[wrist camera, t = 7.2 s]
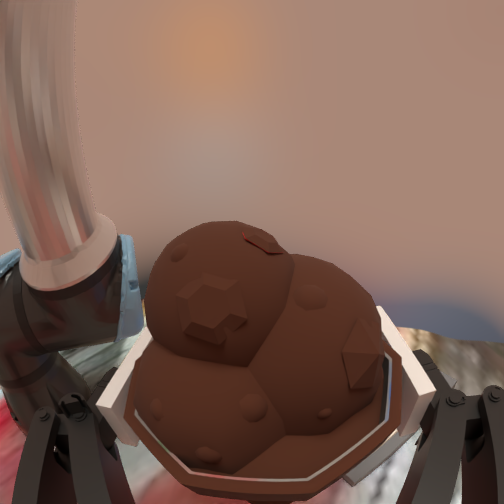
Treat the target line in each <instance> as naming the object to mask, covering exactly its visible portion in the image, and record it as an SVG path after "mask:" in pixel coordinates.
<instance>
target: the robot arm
mask: <svg viewBox="0 0 504 504" xmlns="http://www.w3.org/2000/svg"><path fill="white" fill-rule="evenodd" d="M76 9H77V0H0V193H1V196H2V199H3V202H4V205H5V208H6V210H7V213H8V215H9V218H10V221H11V223H12V225H13V228H14V230H15V232H16V235H17V237H18V239H19V241H20V243H21V246H22V248H23V251H22V252H21V250H20V249H15V250H12V251H10V252H7V253H5V254H3V255H1V256H0V386H1V388H2V391H3V394H4V397H5V400H6V403H7V405H8V408H9V410H10V413H11V416H12V418H13V420H14V421H15V423H16V424H17V426H18V427H19V428H20V429H21V430H22V432H23V433H24V434H25V435H26V436H27V438H26V441H25V444H24V448H23V452H22V455H21V459H20V463H19V467H18V472H17V476H16V481H15V486H14V492H13V498H12V504H135V502H134V499H133V496H132V493H131V490H130V488H129V485H128V482H127V479H126V475H125V472H124V469H123V465H122V462H121V458H120V455H119V451H118V447H117V445H116V443H115V442H114V441H115V439H116V437H118V438H119V440H120V441H121V442H122V443H124V444H128V445H132V446H137V444H138V442H139V437H138V436H137V435H136V434H135V432H134V431H133V430H132V429H131V427H130V426H129V425H128V423H127V422H126V421H125V419H124V418H123V416H124V411H125V406H126V401H127V396H128V391H129V386H130V382H131V377H132V373H133V368H134V364H135V360H137V359H138V358H139V357H140V356H142V353H143V351H144V350H145V349H146V347H147V346H148V345H149V344H150V343H151V342H152V340H153V337H152V335H151V334H150V332H149V330H148V328H147V326H146V327H145V329H144V330H143V332H142V333H141V335H140V336H139V338H138V339H137V341H136V342H135V344H134V345H133V347H132V348H131V350H130V351H129V353H128V354H127V356H126V357H125V359H124V360H123V362H122V363H121V365H120V367H119V368H116V367H113V368H112V369H111V370H109V371H108V372H107V373H106V374H105V375H104V377H103V378H102V381H100V383H99V384H98V387H96V389H95V390H94V392H93V393H92V395H91V392H90V389H89V388H88V386H87V384H86V382H85V380H84V379H83V377H82V376H81V375H80V374H79V373H78V372H77V371H76V370H75V369H74V368H73V367H72V366H71V365H70V364H69V363H68V362H67V361H66V360H65V359H64V358H63V357H62V356H61V355H60V354H59V352H58V351H63V350H69V349H76V348H82V347H88V346H93V345H99V344H104V343H110V342H118V341H119V340H120V339H123V338H127V337H131V336H134V335H137V334H138V333H139V332H140V331H141V330H142V328H143V325H144V317H143V310H142V303H141V297H140V290H139V285H138V276H137V267H136V260H135V251H134V243H133V238H132V237H131V236H130V235H123V234H121V235H117V231H116V228H115V226H114V224H113V222H112V221H111V219H110V218H108V217H107V216H104V215H103V214H100V213H98V212H96V209H95V205H94V201H93V196H92V192H91V188H90V183H89V178H88V174H87V168H86V163H85V158H84V152H83V146H82V140H81V133H80V125H79V117H78V107H77V98H76V97H77V96H76V84H75V83H76V81H75V23H76ZM376 308H377V310H378V312H379V315H380V317H381V327H382V339H383V340H384V341H385V342H386V343H387V344H388V345H389V346H390V347H391V348H393V349H394V350H395V351H396V352H397V353H398V354H399V355H400V356H401V357H402V407H401V424H400V425H399V426H398V427H397V431H398V433H399V436H400V437H402V436H405V435H408V434H412V433H415V432H416V430H417V428H418V427H419V425H420V426H421V428H422V430H423V431H422V433H421V435H420V436H419V438H418V440H417V441H416V443H415V445H417V444H418V445H417V448H416V451H415V454H414V458H413V461H412V464H411V466H410V469H409V472H408V475H407V477H406V480H405V483H404V485H403V488H402V490H401V493H400V495H399V497H398V500H397V502H396V504H450V502H451V498H452V495H453V491H454V487H455V484H456V480H457V475H458V471H459V466H460V461H461V464H462V504H504V390H503V389H502V388H501V387H499V386H496V385H491V386H488V387H486V388H485V389H484V391H483V393H482V395H476V396H466V395H465V394H464V393H463V392H461V391H460V390H456V389H452V388H451V387H450V385H449V384H448V382H447V381H446V379H445V378H444V376H443V375H442V373H441V372H440V371H439V369H437V366H436V365H435V363H433V360H432V359H431V358H430V356H429V355H428V354H427V353H425V352H424V351H422V350H421V349H420V350H416V351H411V349H410V348H409V346H408V345H407V343H406V342H405V340H404V339H403V337H402V336H401V334H400V333H399V332H398V330H397V329H396V327H395V326H394V324H393V323H392V321H391V320H390V319H389V317H388V316H387V315H386V313H385V312H384V311H383V309H382V307H381V306H376ZM54 446H55V447H56V448H55V451H54Z"/></svg>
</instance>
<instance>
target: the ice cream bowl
mask: <svg viewBox="0 0 504 504" xmlns="http://www.w3.org/2000/svg"><path fill="white" fill-rule="evenodd" d="M144 305H145V314H146V322H147V328H148V330H149V332H150V334H151V335H152V337H153V340H152V342H151V343H150V344H149V345H148V346H147V347H146V349H145V350H144V351H143V353H142V356H140V357H139V358H138V359H137V360H135V364H134V368H133V373H132V377H131V382H130V386H129V391H128V396H127V401H126V406H125V411H124V416H123V418H124V419H125V421H126V422H127V423H128V425H129V426H130V427H131V429H132V430H133V431H134V432H135V434H136V435H137V436H138V437H139V439H140V440H141V441H142V442H143V444H144V445H145V446H146V447H147V448H148V449H149V451H150V452H151V453H152V454H153V455H154V456H155V457H156V459H157V460H158V461H159V462H160V463H161V464H162V465H163V466H164V467H165V468H166V469H167V470H168V471H169V472H170V473H171V475H172V476H173V477H174V478H175V479H176V480H177V481H178V482H179V483H181V484H182V485H184V486H185V487H187V488H189V489H190V490H192V491H194V492H196V493H197V494H200V495H206V496H213V497H220V498H229V499H239V500H246V501H248V502H249V503H251V504H290V503H292V502H293V501H307V500H309V499H310V498H312V497H313V496H315V495H317V494H318V493H320V492H321V491H323V490H324V489H326V488H327V487H329V486H330V485H332V484H333V483H335V482H336V481H337V480H339V479H340V478H342V477H343V476H344V475H346V474H347V473H348V472H350V471H351V470H352V469H353V468H355V467H356V466H357V465H359V464H360V463H361V462H362V461H364V460H365V459H366V458H367V457H368V456H370V455H371V454H372V453H373V452H374V451H375V450H376V449H378V448H379V447H380V446H381V445H382V444H383V443H384V442H385V441H386V440H387V439H388V438H389V436H390V435H391V434H392V433H393V432H394V431H395V430H396V428H397V427H398V426H399V425H400V424H401V407H402V357H401V356H400V355H399V354H398V353H397V352H396V351H395V350H394V349H393V348H391V347H390V346H389V345H388V344H387V343H386V342H385V341H384V340H383V339H382V327H381V317H380V315H379V312H378V310H377V308H376V305H375V303H374V301H373V299H372V296H371V295H370V294H369V293H368V292H367V291H366V290H365V289H364V288H363V287H361V285H360V284H359V283H357V282H356V281H355V280H354V279H353V278H352V277H351V276H350V275H348V274H347V273H345V272H344V271H343V270H341V269H340V268H338V267H337V266H335V265H334V264H332V263H329V262H326V261H323V260H320V259H317V258H314V257H309V256H304V255H299V254H289V253H288V252H286V251H285V250H284V249H283V248H282V247H281V246H280V245H278V243H277V241H276V240H275V238H274V237H273V236H272V235H270V234H268V233H267V232H265V231H263V230H262V229H259V228H256V227H253V226H250V225H247V224H244V223H241V222H238V221H218V222H208V223H203V224H201V225H199V226H196V227H194V228H191V229H189V230H188V231H186V232H184V233H182V234H181V235H179V236H177V237H176V238H175V239H173V240H172V241H171V242H170V243H169V244H167V246H166V247H165V249H164V250H163V252H162V253H161V254H160V256H159V257H158V259H157V261H156V262H155V264H154V266H153V268H152V271H151V273H150V277H149V282H148V286H147V290H146V295H145V299H144Z"/></svg>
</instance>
